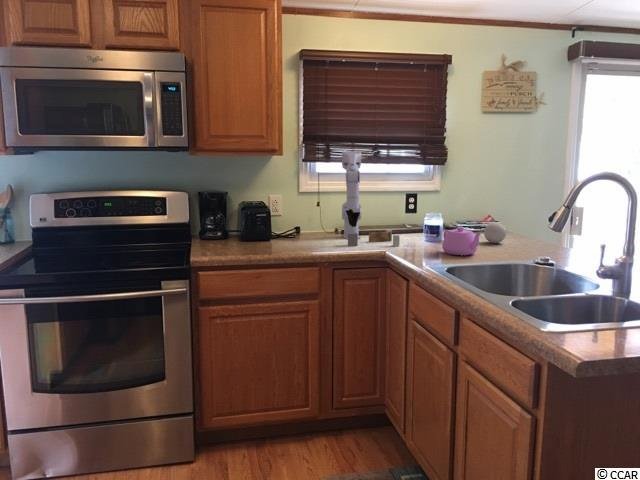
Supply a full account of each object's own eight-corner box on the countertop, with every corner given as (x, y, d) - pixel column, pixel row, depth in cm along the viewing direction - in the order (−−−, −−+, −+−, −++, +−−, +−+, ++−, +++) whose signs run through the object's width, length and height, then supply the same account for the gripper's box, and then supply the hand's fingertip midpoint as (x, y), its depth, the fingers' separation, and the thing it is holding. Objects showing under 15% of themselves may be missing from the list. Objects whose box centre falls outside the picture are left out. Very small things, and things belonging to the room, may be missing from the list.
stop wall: (392, 245, 241) (393, 234, 240) (397, 245, 241) (398, 234, 240) (394, 246, 238) (394, 235, 237) (399, 246, 238) (399, 235, 237)
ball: (503, 245, 237) (504, 224, 235) (481, 244, 242) (482, 223, 240) (507, 242, 246) (508, 221, 244) (485, 240, 250) (486, 220, 249)
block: (347, 244, 243) (347, 232, 242) (356, 244, 244) (356, 232, 243) (349, 246, 239) (349, 233, 238) (357, 246, 240) (357, 233, 239)
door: (390, 240, 252) (390, 231, 251) (391, 241, 251) (391, 232, 250) (368, 241, 250) (368, 232, 249) (369, 242, 249) (369, 233, 248)
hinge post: (386, 240, 254) (386, 230, 253) (390, 239, 255) (390, 230, 254) (387, 240, 252) (387, 230, 251) (391, 240, 252) (391, 230, 252)
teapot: (433, 252, 223) (434, 226, 221) (451, 248, 231) (452, 223, 229) (472, 260, 208) (473, 231, 206) (490, 255, 216) (492, 228, 214)
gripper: (364, 198, 231) (364, 227, 233) (358, 195, 245) (358, 223, 247) (348, 198, 230) (348, 228, 232) (343, 195, 244) (343, 223, 247)
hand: (352, 225), depth 240 cm, fingers open, 5 cm apart
